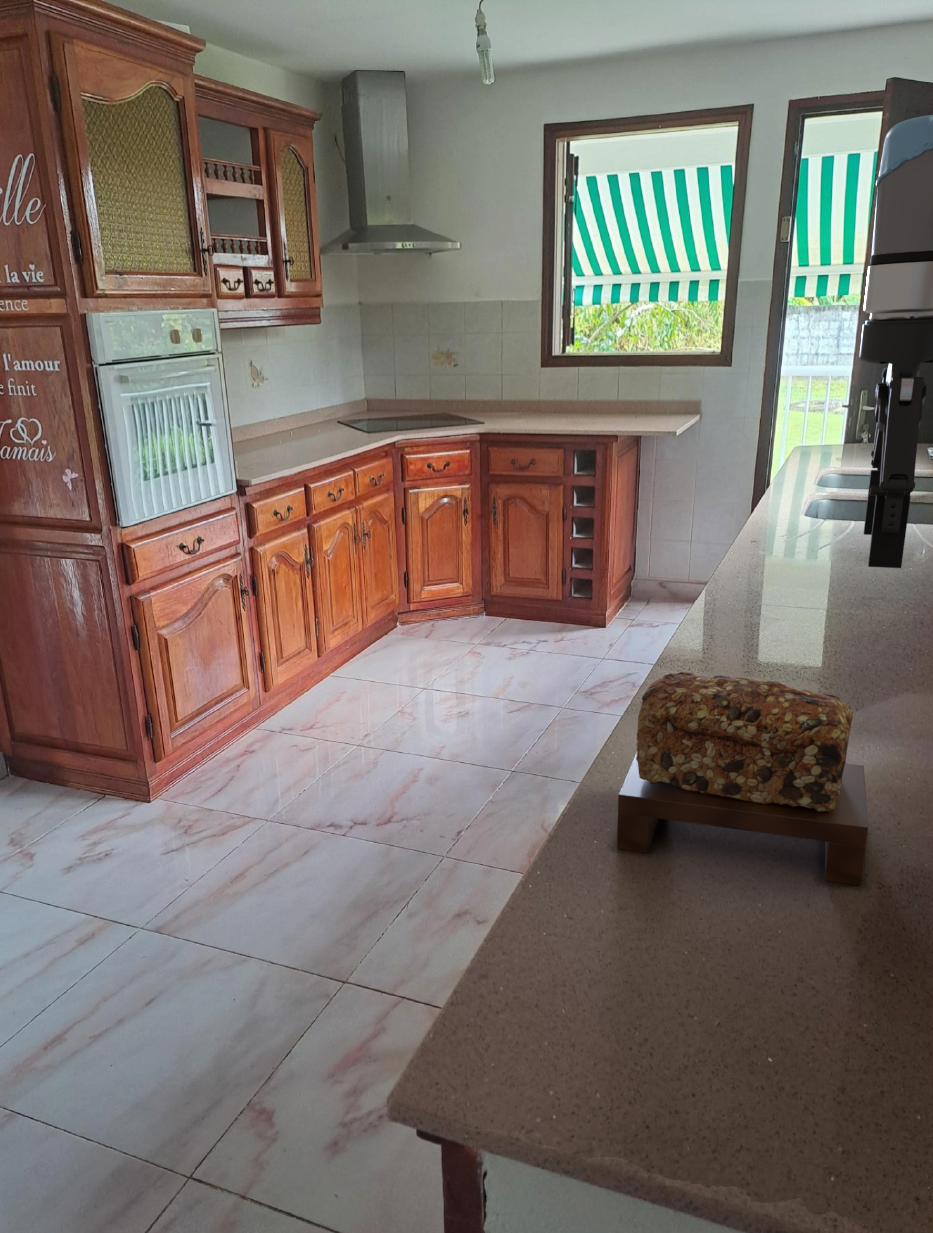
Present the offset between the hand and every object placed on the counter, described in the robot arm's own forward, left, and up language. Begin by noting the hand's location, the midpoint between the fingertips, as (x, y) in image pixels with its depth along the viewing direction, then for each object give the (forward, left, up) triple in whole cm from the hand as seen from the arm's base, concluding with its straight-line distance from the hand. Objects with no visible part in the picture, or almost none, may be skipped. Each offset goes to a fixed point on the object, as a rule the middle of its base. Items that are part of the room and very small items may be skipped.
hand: (880, 549), depth 93 cm
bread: (+11, +12, -21) cm, 26 cm away
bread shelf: (+10, +12, -27) cm, 31 cm away
